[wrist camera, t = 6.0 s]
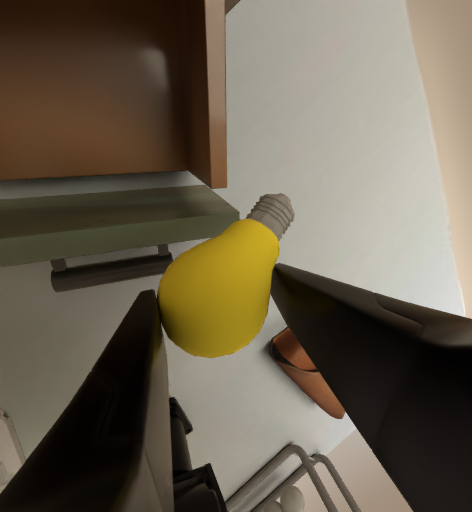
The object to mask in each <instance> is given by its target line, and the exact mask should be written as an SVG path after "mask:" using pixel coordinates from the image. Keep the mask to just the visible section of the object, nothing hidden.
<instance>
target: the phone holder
mask: <svg viewBox="0 0 472 512" xmlns="http://www.w3.org/2000/svg"><path fill="white" fill-rule="evenodd" d="M3 414H4V411H2V410H0V491H2V490H4V488H5V487H6V486H7V484H8V483H9V482H10V480H11V479H12V478H13V477H14V475H15V474H16V473H17V471H18V470H19V469H20V468H21V466H22V465H23V464H24V462H25V458H24V455H23V452H22V450H21V447H20V444H19V441H18V439H17V436H16V433H15V430H14V428H13V425H12V422H11V419H10V417H4V416H3Z"/></svg>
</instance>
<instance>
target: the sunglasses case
mask: <svg viewBox="0 0 472 512" xmlns="http://www.w3.org/2000/svg"><path fill="white" fill-rule="evenodd" d="M269 352H270V355H271V357H272V358H273V360H274V361H275V362H276V363H277V364H278V365H279V366H280V367H281V368H282V369H283V370H284V371H285V373H286V374H287V375H288V376H289V377H290V378H291V379H292V380H293V381H294V382H295V383H296V384H297V385H298V386H299V387H300V388H301V389H302V390H303V391H304V392H305V393H306V394H307V395H308V396H309V397H310V398H311V399H312V400H313V401H314V402H315V403H316V404H317V405H318V406H319V407H320V408H322V409H323V410H324V411H325V412H326V413H328V414H329V415H330V416H332V417H334V418H336V419H342V418H343V416H344V413H345V410H344V408H343V407H342V405H341V404H340V403H339V401H338V400H337V398H336V397H335V395H334V394H333V392H332V391H331V389H330V388H329V386H328V385H327V383H326V382H325V380H324V379H323V377H322V376H321V375H320V373H319V372H318V370H317V369H316V367H315V366H314V364H313V363H312V361H311V360H310V358H309V357H308V355H307V354H306V352H305V351H304V349H303V348H302V347H301V345H300V344H299V342H298V341H297V339H296V338H295V336H294V335H293V333H292V332H291V330H290V329H289V327H287V328H286V329H284V330H283V331H282V332H280V333H279V334H278V335H277V336H275V337H274V338H273V339H272V341H271V343H270V348H269Z"/></svg>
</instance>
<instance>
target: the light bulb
mask: <svg viewBox="0 0 472 512" xmlns="http://www.w3.org/2000/svg"><path fill="white" fill-rule="evenodd" d="M293 220H294V212H293V209H292V206H291V204H290V199H289V198H288V197H287V196H286V195H284V194H281V193H280V194H266V195H264V196H261V197H260V201H259V202H256V205H255V206H254V209H251V213H250V214H248V215H247V217H246V219H244V220H239V221H235V222H233V223H232V224H231V225H230V226H229V227H228V228H227V229H226V230H225V231H223V232H222V233H221V234H220V235H218V236H216V237H214V238H211V239H209V240H207V241H205V242H203V243H201V244H199V245H197V246H195V247H193V248H191V249H189V250H187V251H185V252H184V253H182V254H180V255H179V256H178V257H177V258H176V259H175V260H174V261H173V262H172V263H171V264H170V265H169V266H168V268H167V269H166V271H165V273H164V275H163V277H162V279H161V280H160V283H159V288H158V294H157V299H156V300H157V306H158V311H159V316H160V322H161V324H162V326H163V328H164V330H165V332H166V334H167V336H168V338H169V339H170V340H171V341H173V342H174V343H175V344H176V345H177V346H179V347H180V348H182V349H183V350H184V351H186V352H188V353H190V354H192V355H194V356H201V357H208V358H215V357H219V356H224V355H229V354H233V353H234V352H236V351H238V350H240V349H241V348H243V347H245V346H246V345H248V344H249V343H250V342H251V341H252V339H253V338H254V337H255V336H256V335H257V334H258V333H259V331H260V330H261V327H262V325H263V323H264V321H265V318H266V316H267V312H268V305H269V298H270V288H271V277H272V270H273V268H274V265H275V263H276V261H277V258H278V256H279V249H280V248H279V242H278V241H279V240H280V239H281V238H282V234H285V230H287V228H288V227H289V226H290V222H293Z"/></svg>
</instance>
